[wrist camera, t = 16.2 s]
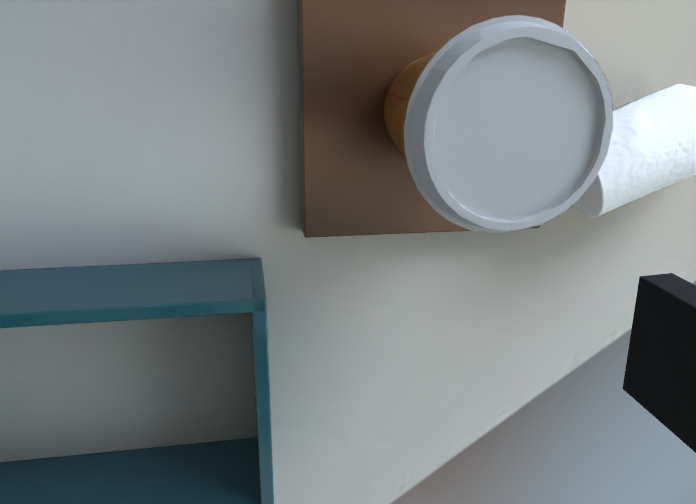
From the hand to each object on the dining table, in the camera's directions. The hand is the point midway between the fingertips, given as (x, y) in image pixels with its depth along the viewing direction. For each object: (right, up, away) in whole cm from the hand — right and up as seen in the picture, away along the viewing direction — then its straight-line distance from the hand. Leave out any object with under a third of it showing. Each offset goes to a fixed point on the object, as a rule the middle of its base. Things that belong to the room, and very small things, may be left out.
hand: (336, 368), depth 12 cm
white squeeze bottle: (+20, +11, +29) cm, 37 cm away
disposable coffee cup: (+5, +11, +25) cm, 28 cm away
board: (+5, +12, +26) cm, 29 cm away
